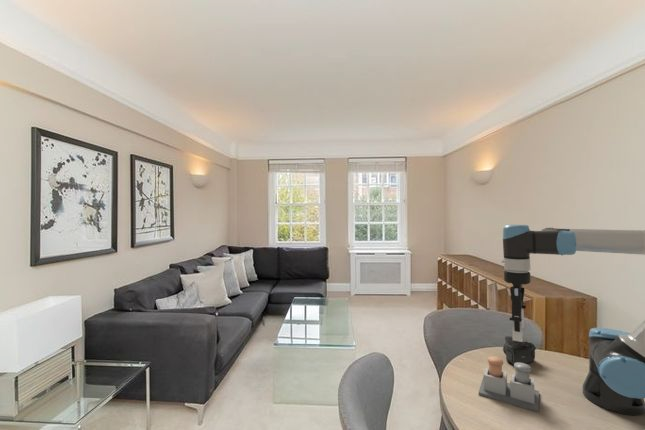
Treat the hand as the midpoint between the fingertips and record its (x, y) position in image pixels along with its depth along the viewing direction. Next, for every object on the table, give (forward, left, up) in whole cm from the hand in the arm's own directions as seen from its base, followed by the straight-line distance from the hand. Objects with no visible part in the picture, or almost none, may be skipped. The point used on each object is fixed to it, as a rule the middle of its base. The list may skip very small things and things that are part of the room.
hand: (518, 333), depth 105 cm
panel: (+3, 0, -22) cm, 22 cm away
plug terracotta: (+7, 0, -17) cm, 18 cm away
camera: (+1, -29, -22) cm, 36 cm away
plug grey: (-1, 0, -17) cm, 17 cm away
